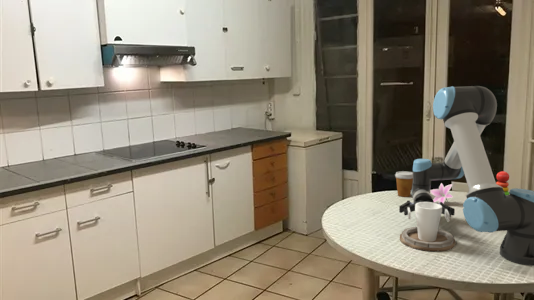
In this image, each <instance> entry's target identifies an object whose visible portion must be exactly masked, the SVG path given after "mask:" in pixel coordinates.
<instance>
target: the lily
mask: <svg viewBox="0 0 534 300" xmlns="http://www.w3.org/2000/svg"><path fill="white" fill-rule="evenodd" d="M452 187H453V183H451V184H448V185H445V186H444V184H443V183H442V182H441V183H440V185H439V186H438V188H433V189H430V194H432V196H434V197H433V198H432V199H433V201H434V203H437V202H438V203H439V202H442V203H443V204H445V202H446V203H448V199H452V198H454V196H453V195H452V194H451V193H449V192H450V190H451V189H452Z"/></svg>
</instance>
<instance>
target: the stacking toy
mask: <svg viewBox="0 0 534 300" xmlns="http://www.w3.org/2000/svg"><path fill="white" fill-rule="evenodd" d="M496 180H497V181H495V182H496V184H497V185H499V186H501V187H503V190H504V193H505V195H509V192H510V188H509V185H510V184H509V182H508V181H509V180H510V175H509V173H508V172H507V171H504V170H502V171H499V172H497V174H496Z"/></svg>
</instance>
